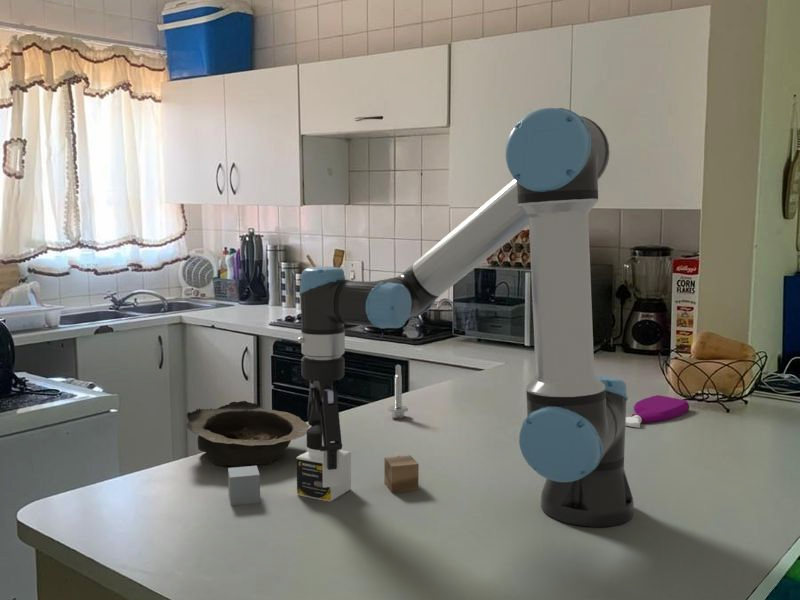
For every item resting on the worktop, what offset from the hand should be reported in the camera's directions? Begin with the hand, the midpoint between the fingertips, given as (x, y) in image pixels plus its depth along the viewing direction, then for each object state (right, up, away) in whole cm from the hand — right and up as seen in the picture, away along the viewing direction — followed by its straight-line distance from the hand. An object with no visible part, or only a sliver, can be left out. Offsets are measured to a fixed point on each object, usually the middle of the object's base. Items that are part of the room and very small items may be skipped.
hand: (323, 473), depth 140 cm
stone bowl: (-17, -1, +21) cm, 27 cm away
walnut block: (+14, -3, +3) cm, 15 cm away
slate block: (-14, -4, -3) cm, 14 cm away
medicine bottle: (0, -4, 0) cm, 4 cm away
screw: (+13, +2, +50) cm, 52 cm away
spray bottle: (+74, +2, +51) cm, 90 cm away
